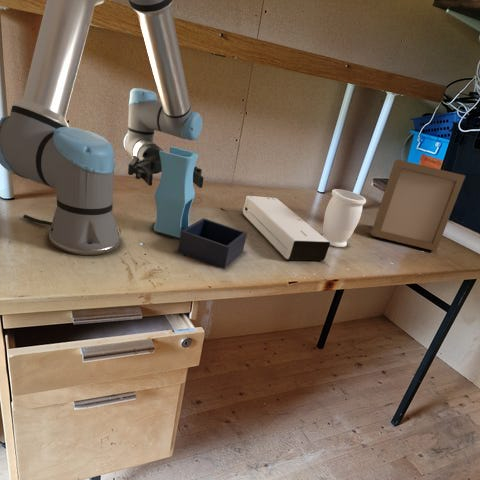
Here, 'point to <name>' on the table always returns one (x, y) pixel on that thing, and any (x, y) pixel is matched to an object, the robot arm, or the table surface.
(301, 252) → the laminator
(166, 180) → the vase
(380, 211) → the photo frame
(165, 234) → the coaster
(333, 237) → the jar
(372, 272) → the table surface
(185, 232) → the bin
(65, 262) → the table surface
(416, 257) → the table surface
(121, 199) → the table surface
